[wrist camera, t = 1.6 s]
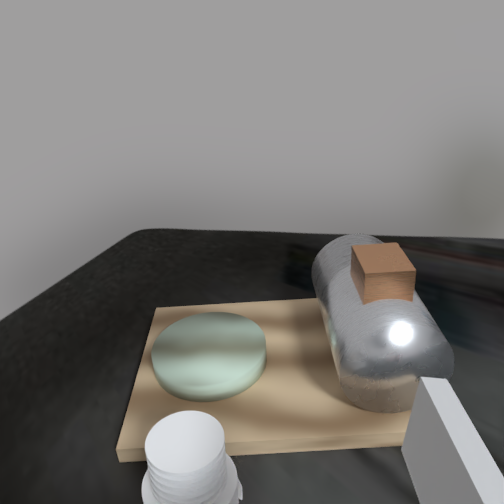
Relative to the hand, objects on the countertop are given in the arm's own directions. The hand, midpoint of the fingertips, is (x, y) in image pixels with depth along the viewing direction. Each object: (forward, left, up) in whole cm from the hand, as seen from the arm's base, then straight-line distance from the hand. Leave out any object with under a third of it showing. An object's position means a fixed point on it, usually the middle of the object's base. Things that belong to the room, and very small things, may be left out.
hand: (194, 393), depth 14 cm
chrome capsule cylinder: (-29, 0, -20) cm, 36 cm away
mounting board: (-25, -8, -22) cm, 34 cm away
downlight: (-7, -6, -22) cm, 24 cm away
